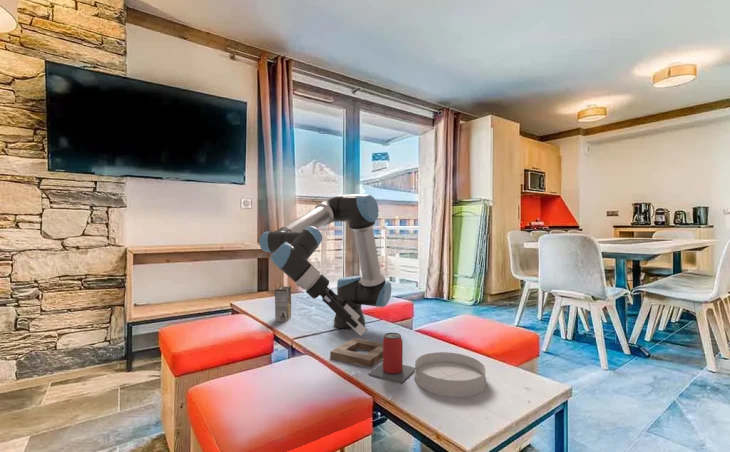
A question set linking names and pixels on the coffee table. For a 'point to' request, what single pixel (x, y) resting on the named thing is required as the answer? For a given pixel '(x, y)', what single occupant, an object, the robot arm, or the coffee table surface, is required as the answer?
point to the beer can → (392, 353)
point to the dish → (450, 374)
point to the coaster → (393, 377)
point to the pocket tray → (357, 358)
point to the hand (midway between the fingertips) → (360, 325)
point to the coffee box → (283, 303)
